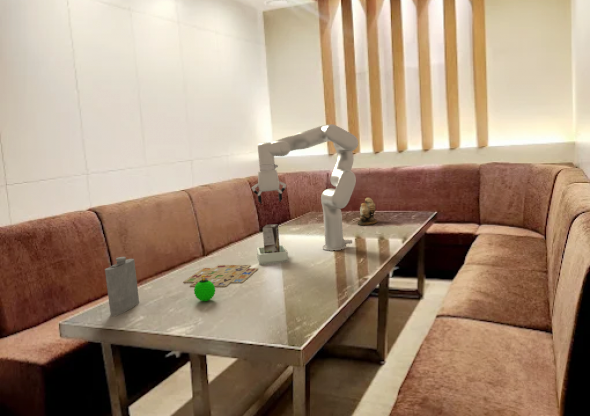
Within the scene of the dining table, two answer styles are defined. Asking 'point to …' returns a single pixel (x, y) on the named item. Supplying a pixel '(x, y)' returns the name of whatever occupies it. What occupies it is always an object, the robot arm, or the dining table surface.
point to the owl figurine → (367, 213)
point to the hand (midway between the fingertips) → (270, 202)
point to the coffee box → (271, 238)
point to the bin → (272, 256)
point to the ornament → (204, 289)
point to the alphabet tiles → (222, 275)
